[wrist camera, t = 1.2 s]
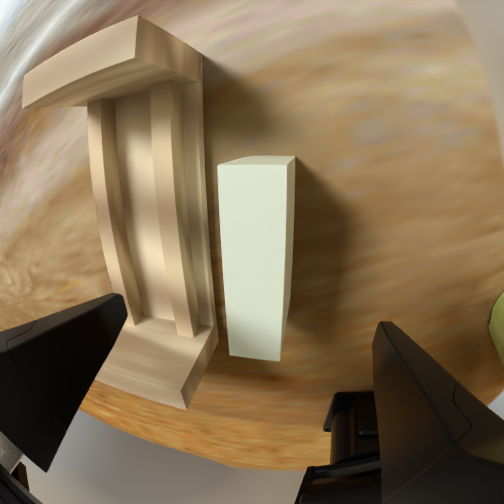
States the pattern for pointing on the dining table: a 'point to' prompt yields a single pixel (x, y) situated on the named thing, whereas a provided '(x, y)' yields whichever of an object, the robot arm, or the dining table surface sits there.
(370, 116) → the dining table surface
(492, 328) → the plant pot
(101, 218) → the wooden u-shaped holder
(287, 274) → the pale green rectangular block
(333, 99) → the dining table surface
